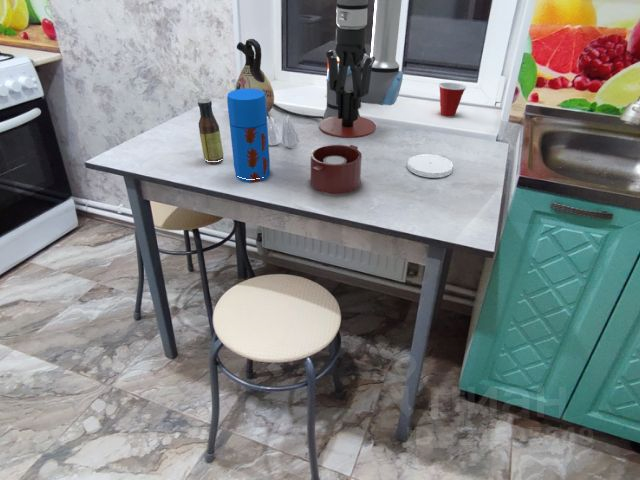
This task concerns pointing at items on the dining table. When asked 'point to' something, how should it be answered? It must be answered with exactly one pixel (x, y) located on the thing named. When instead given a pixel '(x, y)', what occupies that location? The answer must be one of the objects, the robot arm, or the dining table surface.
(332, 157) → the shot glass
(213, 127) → the sauce bottle
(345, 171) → the pot
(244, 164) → the thermos
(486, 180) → the dining table surface
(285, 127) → the shaker set
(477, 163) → the dining table surface
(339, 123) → the lid
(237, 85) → the ceramic jug
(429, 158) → the plastic lid
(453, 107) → the plastic cup
